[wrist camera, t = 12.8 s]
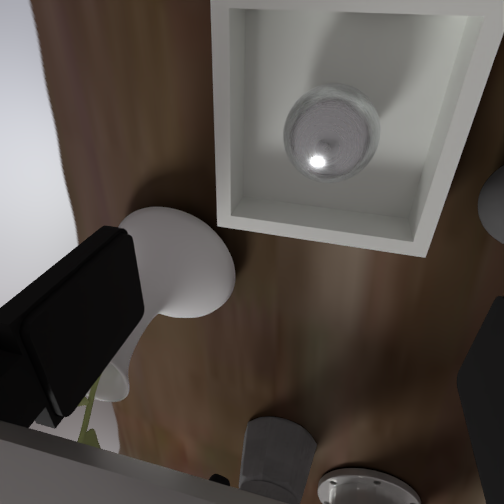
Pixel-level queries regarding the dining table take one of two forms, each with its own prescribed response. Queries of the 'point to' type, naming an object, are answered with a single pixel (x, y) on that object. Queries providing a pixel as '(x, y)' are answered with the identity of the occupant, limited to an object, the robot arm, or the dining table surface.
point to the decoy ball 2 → (493, 205)
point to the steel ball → (331, 133)
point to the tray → (373, 86)
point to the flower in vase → (165, 287)
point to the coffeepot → (275, 459)
